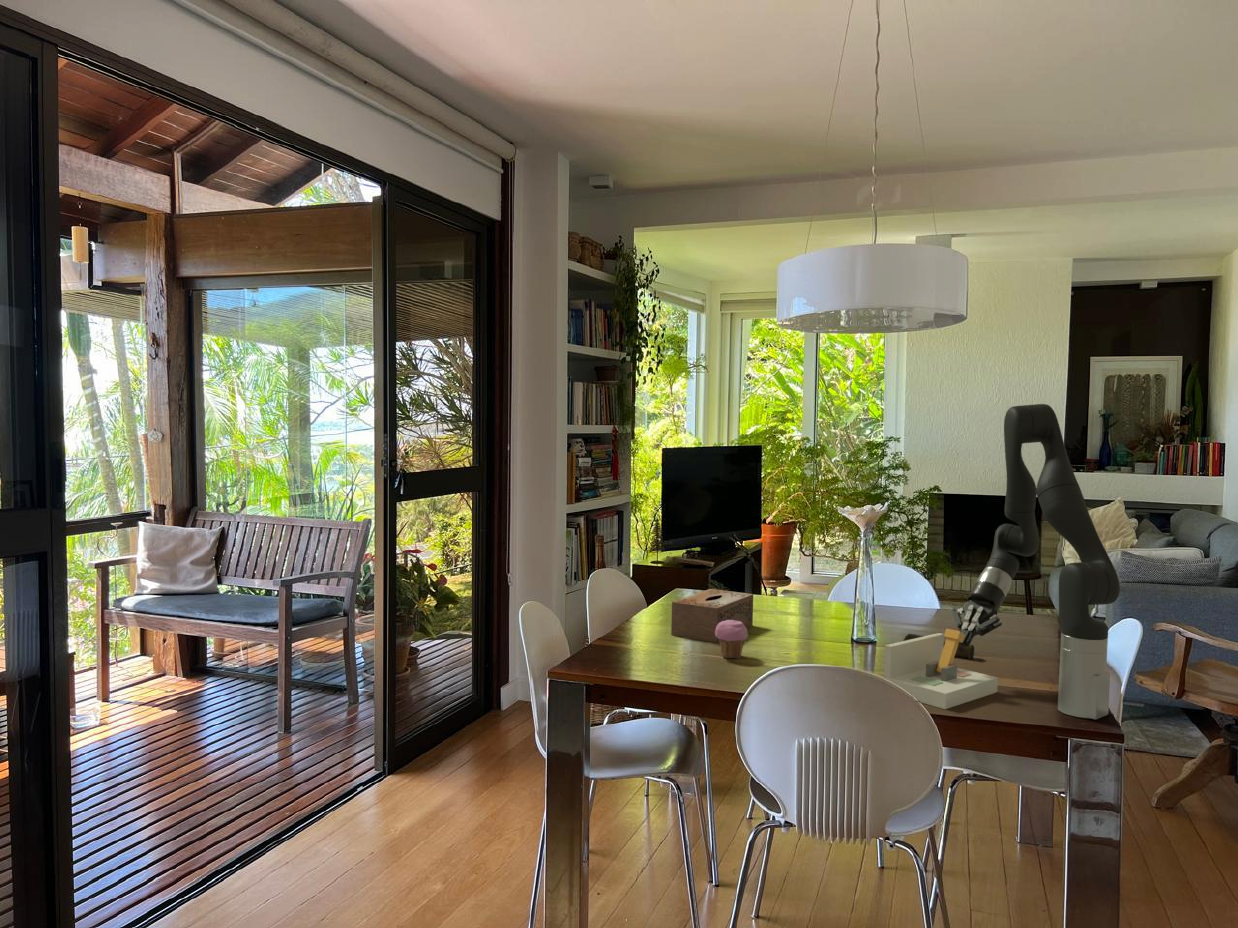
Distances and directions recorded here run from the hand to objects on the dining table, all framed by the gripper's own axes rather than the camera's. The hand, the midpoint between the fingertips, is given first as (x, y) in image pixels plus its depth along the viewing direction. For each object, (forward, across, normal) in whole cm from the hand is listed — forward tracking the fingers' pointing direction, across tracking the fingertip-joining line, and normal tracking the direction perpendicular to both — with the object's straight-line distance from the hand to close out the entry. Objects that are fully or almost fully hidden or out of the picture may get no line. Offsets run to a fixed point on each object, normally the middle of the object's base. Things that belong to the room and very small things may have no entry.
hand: (961, 645), depth 223 cm
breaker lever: (+10, 0, -1) cm, 11 cm away
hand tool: (-9, -21, +24) cm, 33 cm away
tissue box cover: (+13, -76, +2) cm, 77 cm away
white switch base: (+13, 0, +1) cm, 13 cm away
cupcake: (+26, -51, -11) cm, 58 cm away
